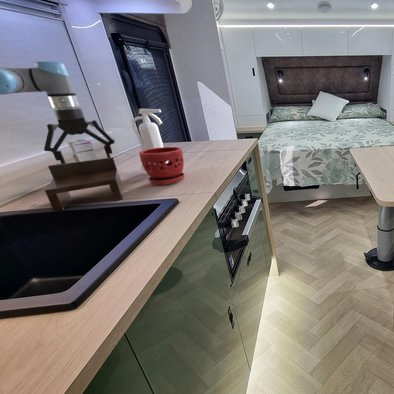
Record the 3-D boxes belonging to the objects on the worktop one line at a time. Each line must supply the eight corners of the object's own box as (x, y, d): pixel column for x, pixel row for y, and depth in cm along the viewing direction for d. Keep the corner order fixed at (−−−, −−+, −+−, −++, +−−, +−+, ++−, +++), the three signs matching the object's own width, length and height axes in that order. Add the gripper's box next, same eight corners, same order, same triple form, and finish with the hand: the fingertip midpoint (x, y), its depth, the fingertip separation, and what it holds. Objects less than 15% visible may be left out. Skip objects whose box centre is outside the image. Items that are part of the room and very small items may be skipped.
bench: (54, 212, 84) (38, 176, 79) (62, 198, 94) (48, 165, 90) (122, 199, 92) (111, 166, 88) (123, 187, 103) (113, 157, 98)
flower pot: (188, 183, 106) (180, 150, 101) (146, 189, 101) (135, 155, 96) (188, 173, 117) (181, 144, 112) (150, 178, 111) (141, 148, 107)
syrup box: (104, 175, 116) (91, 139, 110) (86, 180, 111) (71, 142, 105) (98, 173, 118) (85, 138, 113) (80, 177, 114) (66, 140, 108)
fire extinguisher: (145, 170, 122) (127, 108, 112) (177, 167, 125) (161, 107, 115) (139, 175, 116) (119, 110, 106) (172, 172, 119) (156, 108, 109)
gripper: (15, 112, 95) (42, 173, 104) (109, 106, 109) (127, 161, 117) (21, 110, 101) (47, 168, 109) (110, 105, 114) (127, 157, 122)
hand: (89, 165), depth 113 cm, fingers open, 13 cm apart
